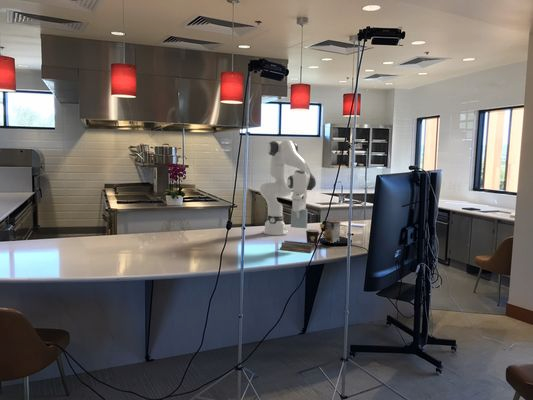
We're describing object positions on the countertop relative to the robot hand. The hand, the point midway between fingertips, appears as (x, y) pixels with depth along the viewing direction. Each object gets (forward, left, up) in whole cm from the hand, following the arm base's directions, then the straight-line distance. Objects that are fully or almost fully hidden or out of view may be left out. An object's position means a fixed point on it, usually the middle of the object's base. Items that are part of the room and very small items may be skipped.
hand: (299, 217), depth 293 cm
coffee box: (-25, +17, -21) cm, 37 cm away
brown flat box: (0, 0, -21) cm, 21 cm away
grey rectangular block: (0, 0, -7) cm, 7 cm away
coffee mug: (-16, +7, -21) cm, 27 cm away
